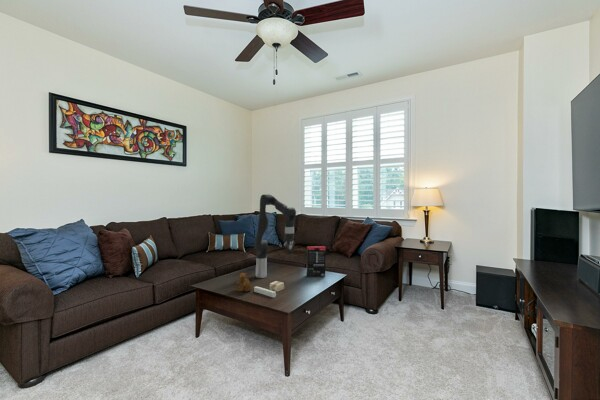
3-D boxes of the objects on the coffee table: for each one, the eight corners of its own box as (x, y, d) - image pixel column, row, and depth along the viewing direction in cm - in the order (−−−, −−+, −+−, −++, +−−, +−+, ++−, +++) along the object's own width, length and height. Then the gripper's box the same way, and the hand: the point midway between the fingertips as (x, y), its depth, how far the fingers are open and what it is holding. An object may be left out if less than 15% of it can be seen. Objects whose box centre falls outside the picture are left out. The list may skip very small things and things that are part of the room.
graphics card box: (324, 274, 260) (324, 245, 259) (325, 276, 253) (326, 246, 252) (306, 275, 258) (306, 245, 257) (307, 277, 251) (307, 247, 251)
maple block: (269, 289, 219) (269, 283, 219) (276, 287, 226) (276, 280, 226) (277, 291, 215) (277, 285, 215) (283, 289, 221) (283, 282, 221)
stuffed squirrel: (244, 286, 226) (244, 270, 226) (255, 290, 217) (255, 273, 217) (234, 289, 219) (233, 273, 218) (245, 294, 210) (245, 276, 209)
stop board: (254, 291, 215) (254, 287, 215) (256, 290, 217) (256, 286, 217) (273, 297, 203) (273, 292, 203) (275, 296, 205) (275, 291, 205)
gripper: (291, 231, 231) (291, 251, 232) (280, 232, 221) (280, 254, 221) (298, 231, 227) (298, 253, 227) (287, 233, 216) (287, 256, 217)
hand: (289, 253), depth 224 cm, fingers closed
